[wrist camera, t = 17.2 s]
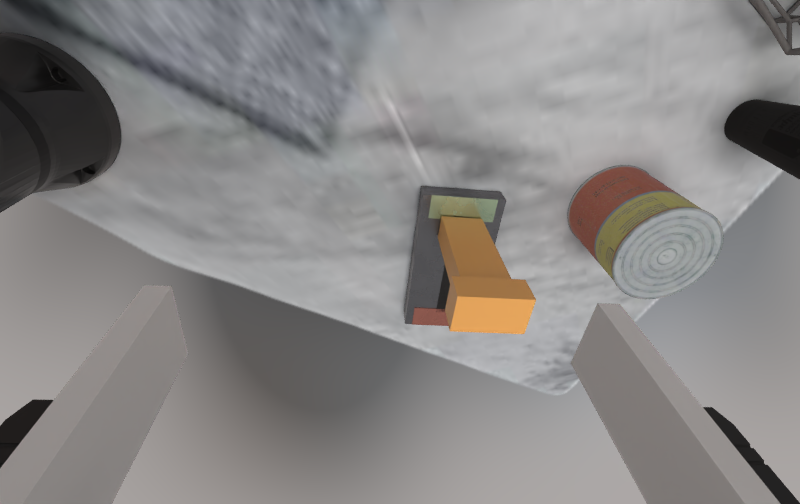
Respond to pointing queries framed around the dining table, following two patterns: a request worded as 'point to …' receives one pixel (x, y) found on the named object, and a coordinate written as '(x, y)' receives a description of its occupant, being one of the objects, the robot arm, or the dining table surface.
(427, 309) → the switch plate
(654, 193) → the canned food
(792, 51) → the geometric lantern
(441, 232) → the handle
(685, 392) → the robot arm
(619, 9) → the dining table surface
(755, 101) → the drinking cup
